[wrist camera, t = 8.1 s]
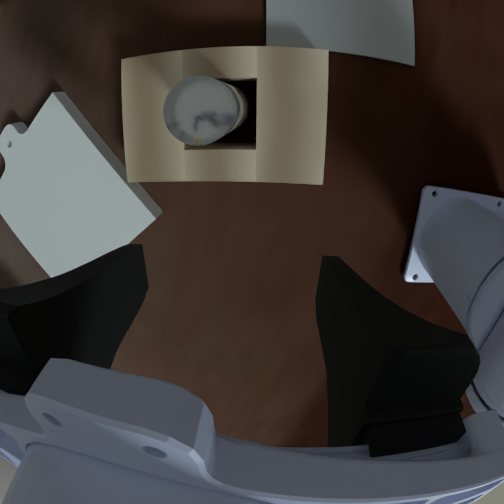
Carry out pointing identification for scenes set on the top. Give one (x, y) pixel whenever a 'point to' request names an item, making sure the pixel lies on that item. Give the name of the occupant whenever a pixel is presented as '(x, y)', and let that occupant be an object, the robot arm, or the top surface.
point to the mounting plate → (68, 189)
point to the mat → (344, 27)
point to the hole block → (267, 121)
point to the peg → (204, 110)
